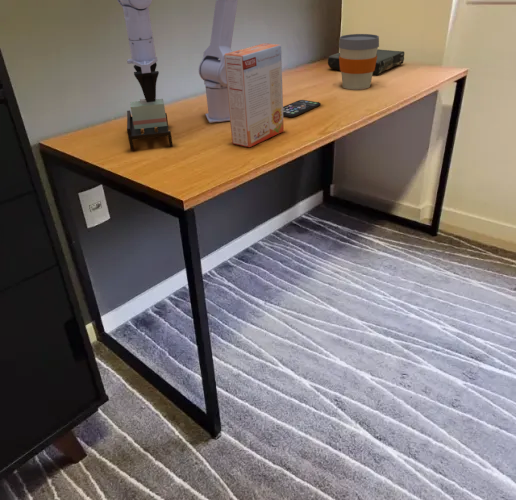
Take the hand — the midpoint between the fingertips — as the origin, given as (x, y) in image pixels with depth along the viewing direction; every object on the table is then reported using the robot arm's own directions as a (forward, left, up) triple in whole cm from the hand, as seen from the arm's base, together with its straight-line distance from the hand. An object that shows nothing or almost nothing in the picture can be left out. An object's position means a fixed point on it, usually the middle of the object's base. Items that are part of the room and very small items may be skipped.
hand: (150, 97), depth 121 cm
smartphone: (-40, -9, -10) cm, 43 cm away
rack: (+2, +2, -10) cm, 10 cm away
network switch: (-80, -53, -10) cm, 97 cm away
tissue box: (+1, +2, -6) cm, 6 cm away
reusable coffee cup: (-66, -28, -10) cm, 73 cm away
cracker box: (-24, +11, -10) cm, 28 cm away
